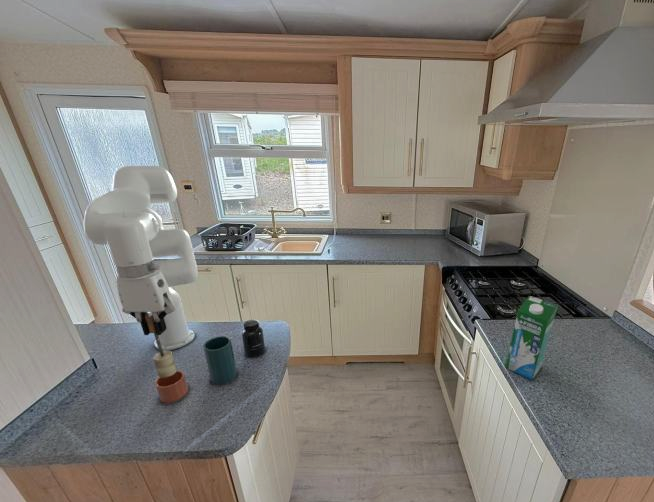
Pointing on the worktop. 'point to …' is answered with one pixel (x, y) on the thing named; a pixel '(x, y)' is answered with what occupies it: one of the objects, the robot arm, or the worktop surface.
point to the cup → (220, 359)
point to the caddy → (172, 387)
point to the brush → (161, 353)
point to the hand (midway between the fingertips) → (155, 331)
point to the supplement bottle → (253, 338)
